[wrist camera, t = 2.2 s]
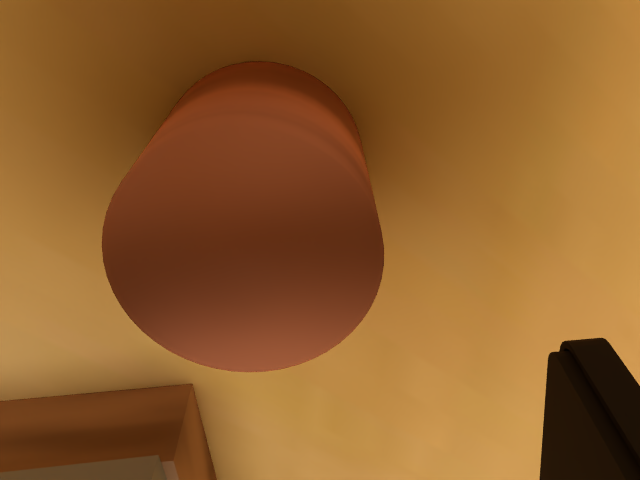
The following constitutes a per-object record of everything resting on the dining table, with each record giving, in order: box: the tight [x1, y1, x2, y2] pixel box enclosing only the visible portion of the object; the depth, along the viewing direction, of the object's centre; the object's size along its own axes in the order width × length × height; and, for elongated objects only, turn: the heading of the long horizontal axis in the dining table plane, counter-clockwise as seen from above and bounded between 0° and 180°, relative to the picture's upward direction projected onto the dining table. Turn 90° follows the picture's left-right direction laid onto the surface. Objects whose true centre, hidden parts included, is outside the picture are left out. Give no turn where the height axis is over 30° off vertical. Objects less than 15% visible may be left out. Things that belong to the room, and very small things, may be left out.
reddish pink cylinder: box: [102, 61, 384, 372], centre depth 16 cm, size 6×6×6 cm
